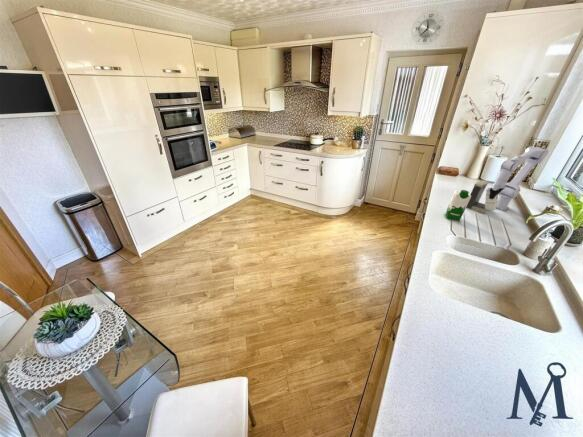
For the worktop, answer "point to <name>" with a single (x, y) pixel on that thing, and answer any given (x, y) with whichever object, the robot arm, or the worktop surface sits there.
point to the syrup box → (490, 201)
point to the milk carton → (458, 205)
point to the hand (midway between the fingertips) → (492, 197)
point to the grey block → (477, 196)
